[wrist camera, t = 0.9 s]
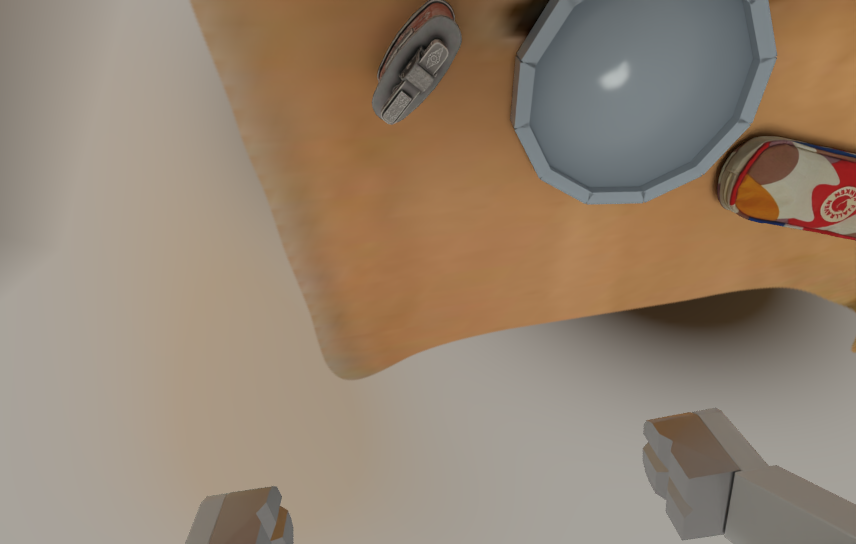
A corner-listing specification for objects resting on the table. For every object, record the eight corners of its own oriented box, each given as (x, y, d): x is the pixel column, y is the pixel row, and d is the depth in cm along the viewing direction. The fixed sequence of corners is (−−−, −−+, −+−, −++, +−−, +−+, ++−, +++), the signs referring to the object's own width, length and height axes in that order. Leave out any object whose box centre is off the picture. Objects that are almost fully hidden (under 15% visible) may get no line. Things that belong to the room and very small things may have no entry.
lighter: (430, -14, 38) (435, 10, 30) (464, 18, 39) (477, 49, 31) (368, 73, 41) (357, 116, 33) (401, 99, 43) (398, 146, 35)
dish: (730, -121, 34) (748, -122, 32) (775, 125, 45) (789, 134, 43) (471, 42, 40) (473, 48, 38) (564, 226, 50) (569, 237, 49)
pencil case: (785, 80, 43) (824, 99, 39) (927, 173, 48) (974, 198, 44) (692, 186, 48) (717, 212, 44) (828, 258, 54) (861, 287, 50)
